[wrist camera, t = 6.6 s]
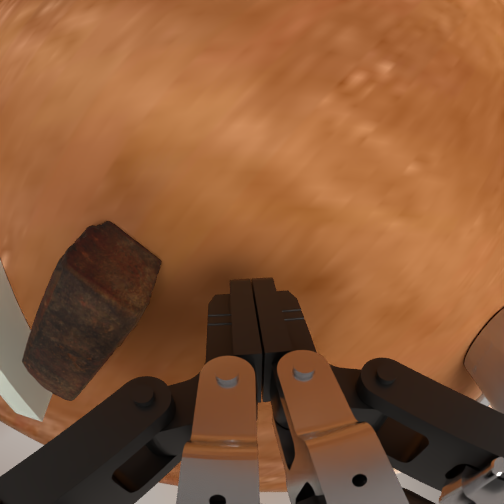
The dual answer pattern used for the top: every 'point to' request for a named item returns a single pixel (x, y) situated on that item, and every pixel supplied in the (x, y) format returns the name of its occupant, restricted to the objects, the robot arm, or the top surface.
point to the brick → (89, 308)
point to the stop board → (17, 359)
